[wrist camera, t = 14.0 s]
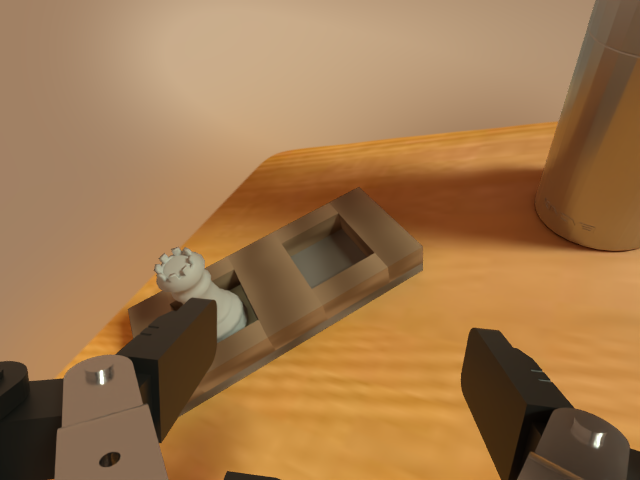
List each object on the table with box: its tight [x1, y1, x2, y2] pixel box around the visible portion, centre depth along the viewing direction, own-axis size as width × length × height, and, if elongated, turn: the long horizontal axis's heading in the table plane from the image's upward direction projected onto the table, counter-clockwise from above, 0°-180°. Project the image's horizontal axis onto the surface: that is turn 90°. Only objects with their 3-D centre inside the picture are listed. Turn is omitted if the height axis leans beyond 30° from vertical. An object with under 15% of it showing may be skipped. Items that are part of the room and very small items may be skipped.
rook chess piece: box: [154, 247, 248, 343], centre depth 26 cm, size 4×4×8 cm
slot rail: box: [128, 187, 423, 417], centre depth 30 cm, size 22×9×3 cm, turn 119°
